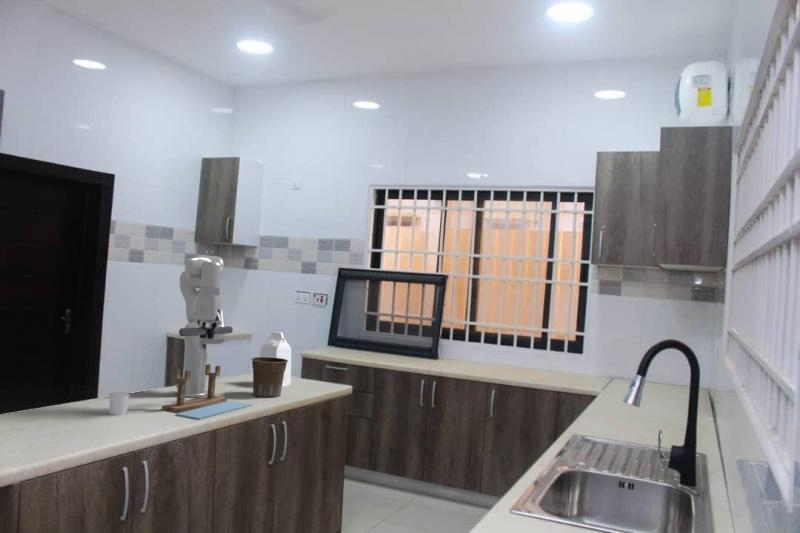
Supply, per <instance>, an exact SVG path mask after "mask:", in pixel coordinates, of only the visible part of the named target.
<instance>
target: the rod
mask: <svg viewBox="0 0 800 533" xmlns="http://www.w3.org/2000/svg"><path fill="white" fill-rule="evenodd" d="M208 329H209V327H202V328H185V327H182V328H180V329H179V330H178V335H179V336H180V337H184V336H196V335H207V332H208ZM233 330H234V328H233V327H232V325H231V326H230V325H229V326H226V325H225V327H216V328H215V329H214V334H226V335H227V334H232V333H233Z"/></svg>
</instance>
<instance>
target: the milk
mask: <svg viewBox="0 0 800 533" xmlns="http://www.w3.org/2000/svg"><path fill="white" fill-rule="evenodd" d="M259 351H260V352H259V357H274V358H282V359H286V360H288V362H287V365H286V369H285V372H284V377H283V383H282V386H285V387H288V386H287V385H292V380H291V379H292V348H291V346H290V344H289V343H288V341H287V340H286V339H285V337H284V333H283V332H279V331H271V333H270V336H269V337H268V339H266V341H265V342H264V343H262V345H261V347H260V350H259Z"/></svg>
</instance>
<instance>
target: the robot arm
mask: <svg viewBox="0 0 800 533" xmlns="http://www.w3.org/2000/svg"><path fill="white" fill-rule="evenodd" d="M224 265H225V264H224V260H223V258H222V257H220V256H217V255H203V254H196V255H195V256H194V255H193V257H191V258H188V259H187V260H186V262H185V265H184V271H182V272H181V274H180V275H179V289H180V292H181V296H182V297H183V300H184V303H185V315H186V320H187V323H186V325H185V326H184V328H202V327H209V329H208V332H207V335H196V336H183V338H184V357H183V358H184V359H183V370H182V373H183V374H182V378H185V371H188V370H190V371H191V374H190V382H186V386H185V398H199V397H204V396H207V394H208V390H206V383H207V382H206V380H207V377H206V376H207V375H205V367H206V365H207V364H208V352H207V350H206V349H205V348H204V347H203V346H202V345H221V344H223V343H224V342H225V340H226V337H227V336H226V335H227V334H214V329H215V328H216V327H225V326H226V322H225V314H224V309H223V307H222V298H221V296H220V294H221V293H220V292H221V291H220V290H221V288H220V287H221V279H222V276H223V273H224V267H225V266H224ZM175 388H177V389H178V384H176V385H175Z"/></svg>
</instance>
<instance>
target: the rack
mask: <svg viewBox="0 0 800 533" xmlns="http://www.w3.org/2000/svg"><path fill="white" fill-rule="evenodd" d="M211 366H212V365H211V364H210V363H209V364H208V363H207V365H206V367H205V375H206V376H208V380H207V381H208V382H207V383H208V384H207V391H208V394H207V396H203V397H194V398H190V399H186V400H185V398H186V397H185V386H186V382H190V374H191V371H190V370H188V371H185V378H183V377H181V371H182V370H181V368H176V369H174V376H173V377H174V381H175V382H177V385H178V388H177V394H176V402H172V403H169V404H163V405H161V410H162V411H167V412H172V413H177V412H178V413H181V412H185V411H189V410H194V409H198V408H202V407H206V406H210V405H214V404H218V403H222V402H226V401H228V397H223V396H217V395H215V394H216V393H215V391H216V380H217V377H220V375H221V365H215V367H214V369H215V370H214V372H211Z"/></svg>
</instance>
